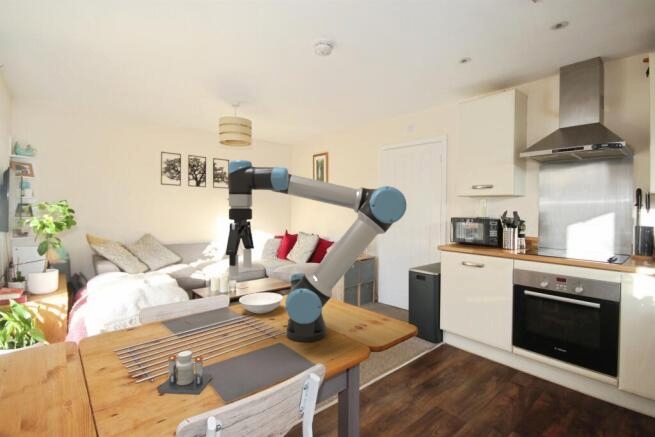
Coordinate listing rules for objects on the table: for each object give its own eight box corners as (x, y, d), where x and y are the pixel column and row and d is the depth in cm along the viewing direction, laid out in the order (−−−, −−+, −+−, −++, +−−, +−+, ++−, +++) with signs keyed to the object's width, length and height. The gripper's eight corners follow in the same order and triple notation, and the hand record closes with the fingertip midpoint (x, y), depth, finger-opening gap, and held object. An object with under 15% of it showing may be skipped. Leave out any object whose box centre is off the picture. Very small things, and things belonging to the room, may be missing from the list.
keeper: (212, 377, 91) (211, 351, 91) (198, 394, 83) (198, 365, 83) (174, 376, 92) (173, 350, 92) (157, 392, 84) (157, 363, 84)
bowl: (262, 322, 135) (262, 307, 134) (229, 314, 145) (229, 300, 145) (292, 309, 151) (292, 296, 151) (260, 302, 162) (260, 290, 162)
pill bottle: (180, 377, 90) (179, 350, 89) (196, 376, 90) (195, 349, 90) (173, 386, 85) (173, 357, 85) (190, 385, 86) (190, 356, 85)
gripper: (241, 207, 120) (242, 264, 121) (213, 208, 95) (214, 279, 96) (261, 207, 119) (262, 264, 120) (238, 208, 95) (239, 280, 95)
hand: (241, 271), depth 108 cm, fingers open, 13 cm apart
